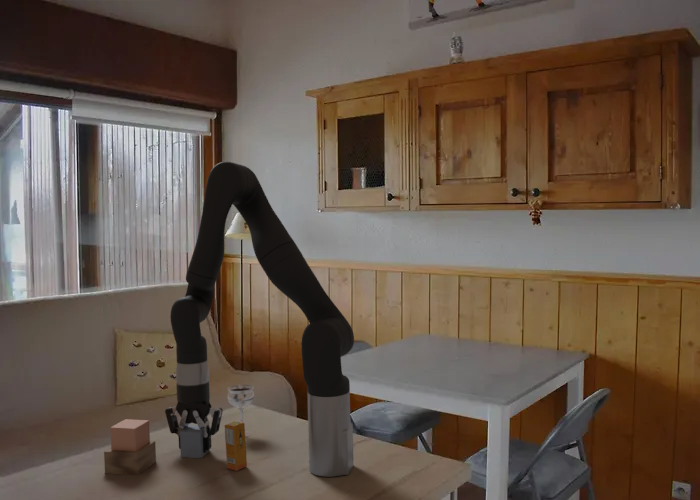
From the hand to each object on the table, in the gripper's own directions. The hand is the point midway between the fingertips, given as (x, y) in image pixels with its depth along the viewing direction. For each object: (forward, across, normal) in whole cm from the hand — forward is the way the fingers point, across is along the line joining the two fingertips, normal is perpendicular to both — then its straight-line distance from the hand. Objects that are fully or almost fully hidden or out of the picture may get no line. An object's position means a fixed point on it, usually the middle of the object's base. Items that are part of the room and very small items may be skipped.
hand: (195, 450), depth 156 cm
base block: (+1, +11, +10) cm, 15 cm away
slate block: (+1, 0, 0) cm, 1 cm away
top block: (-4, +11, +10) cm, 15 cm away
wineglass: (+1, -6, -15) cm, 16 cm away
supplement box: (+1, -13, +7) cm, 15 cm away
